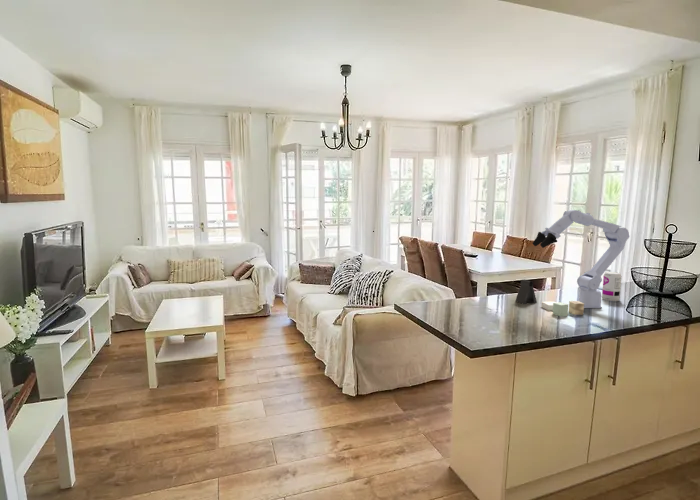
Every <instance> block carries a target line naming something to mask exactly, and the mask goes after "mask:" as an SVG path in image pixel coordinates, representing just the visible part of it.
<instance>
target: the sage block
mask: <svg viewBox="0 0 700 500" xmlns="http://www.w3.org/2000/svg"><path fill="white" fill-rule="evenodd" d="M552 314H553V315H555V316H558V317H566V316H569V315H568V314H569V303H565V302H563V301H562V302H561V301H560V302H557V303H553V310H552Z"/></svg>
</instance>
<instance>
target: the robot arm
mask: <svg viewBox="0 0 700 500" xmlns="http://www.w3.org/2000/svg"><path fill="white" fill-rule="evenodd" d="M573 223H576V224H579V225H582V226H586V227H589V226H594V227H596V228H597V227H598V228H601V229H602V232H603V234H604V236H605V238H606V240H607V242H608V244H609V247H608V248H607V250H606V251H605V252H603V254H602V256H600V258H599V259H598V260H597V262H596V263H595V264H594V265H593V267H592V268H591V269H590V270H587V271H586V272H584V273H583V274H581V275H580V276H578V277H577V280H576V283H577V285H578V288H579V294H578V301H579V302H582V303H584V309H602V291H600V289H599V287H600V286H601V283H602V282H603V279H602V276H603V275H604V274H605V272H607V270H608V268H609V267H610V266H611V265H612V264H613V263H614V262H615V260H617V258H618V257H619V255H620V254H621V253H622V252H623V250H624V249H625V246H626V243H627V241H628V239H629V238H630V232H629V230H628V229H627V228H626V227H622V226H621V225H619V224H616V223H613V222H608V221H605V220H600V219H596V218H594V216H593V215H592V214H591V213H590V212H585V213H584V212H582V211H581V210H577V209H568V210H565V211H564V212H563V215H562V216H561V217H560V218H559V219H557V220H556V221H555V222H554V223H553V224H551V226H550V227H545V228H544V231H538V233H537V236H536V237H535V239H534V240H533V242H532V243H531V244H532V245H533V246H534V247H537V246H539V245H540V247H541V248H542V249H544V248H546V247H547V246H550V245H553V244H555V243H557V242H558V240H557V239H559V238H560V237H561V234H562V233H564V231H566V230H567V229H568V228H569V227H570V226H571V225H573Z"/></svg>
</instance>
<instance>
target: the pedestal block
mask: <svg viewBox="0 0 700 500" xmlns="http://www.w3.org/2000/svg"><path fill="white" fill-rule="evenodd" d="M553 303H558V302H557V301H541V306H540V307H541V308H543V309H545V310H547V311H553Z"/></svg>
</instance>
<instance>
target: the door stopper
mask: <svg viewBox="0 0 700 500" xmlns="http://www.w3.org/2000/svg"><path fill="white" fill-rule="evenodd" d="M514 301H515V302H516V301H518V302H517V303H519V302H520V303H519V304H522V303H523V305H528V304H527V303H530V304H537V303H538V301H537V297H536V293H535V289H534V281H531V280H529V279H521V280H520V287H519V288H518V292H517V295H516V298H515V300H514Z"/></svg>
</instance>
